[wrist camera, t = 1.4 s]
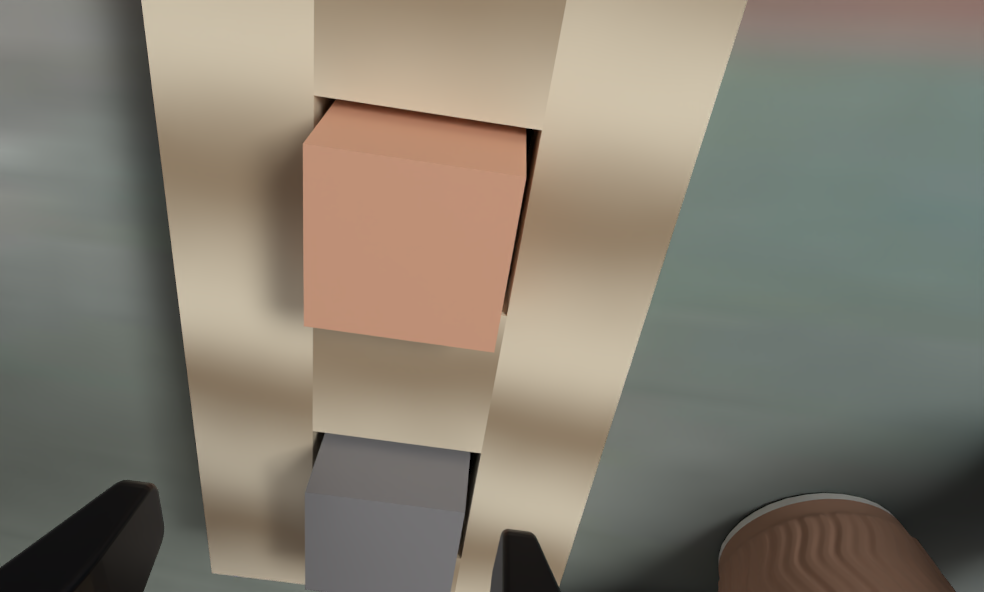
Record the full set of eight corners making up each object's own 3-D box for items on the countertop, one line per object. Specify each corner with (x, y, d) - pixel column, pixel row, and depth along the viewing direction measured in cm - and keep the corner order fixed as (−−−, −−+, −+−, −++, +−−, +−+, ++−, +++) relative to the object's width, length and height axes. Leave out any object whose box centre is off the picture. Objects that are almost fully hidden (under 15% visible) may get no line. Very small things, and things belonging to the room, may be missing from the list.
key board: (547, 544, 27) (549, 614, 25) (241, 505, 27) (212, 573, 24) (894, -648, 11) (1001, -793, 9) (137, -804, 11) (17, -1009, 8)
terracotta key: (498, 274, 19) (494, 352, 16) (338, 251, 19) (303, 326, 16) (526, 118, 17) (525, 177, 14) (342, 90, 16) (302, 143, 13)
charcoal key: (456, 515, 24) (447, 607, 21) (331, 499, 24) (305, 589, 21) (472, 424, 22) (465, 512, 19) (334, 405, 22) (304, 492, 19)
